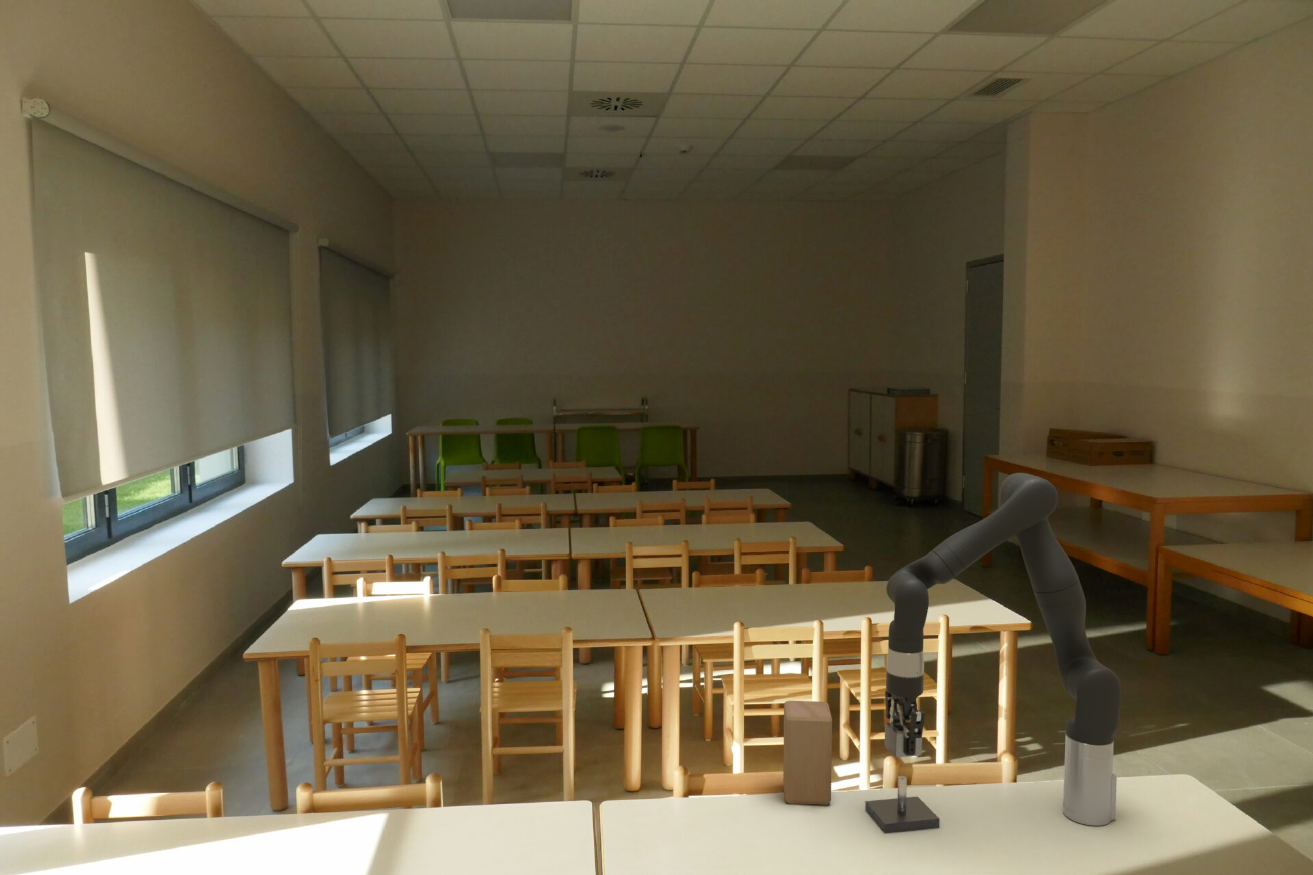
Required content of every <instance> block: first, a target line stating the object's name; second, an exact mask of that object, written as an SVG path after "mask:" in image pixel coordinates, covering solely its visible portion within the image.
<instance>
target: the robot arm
mask: <svg viewBox="0 0 1313 875" xmlns="http://www.w3.org/2000/svg"><path fill="white" fill-rule="evenodd" d="M1058 494H1059V493H1058V491H1057V489H1056V487H1055V486H1054V485H1053V483H1051V482H1050V481H1049V480H1047V479H1045V478H1043V477H1040V476H1036V475H1033V474H1030V473H1027V472H1016V473H1015V472H1014V473H1012V474H1010V475H1007V477H1006V478H1005V479H1003V481H1002V483H1001V485H1000V489H999V500H1000V504H1001V506H1000V507H999V508H998V509H996V510H995V511H994V512H992V513H991V514H990V515H988V516H986V517H985V518H983V519H982V520H980V521H977V522H976V523H974V524H972V525H969V526H967V527H965V528H963V529H961V530H959V531H957V532H955V533H954V534H952V535H950V536H949V537H947V538H946V539H944V540H943V541H941V543H939V544H938V545H937V546H935V547H934V548H933V549H932V550H931V551H929V552H928V553H927V554H926V555H925V556H923V557H920V558H919V559H916V560H914V561H912V562H911V563H909V564H906V565H905V566H903V567H902V568H900V569H899V570H898V571H896V572H894V573H893V574H892V576H890V578H889V579H888V581H887V584H886V588H885V589H886V594H887V596H888V598H889V599H890V600H891V602H893V604H894V614H893V619H892V621H890V623H889V627H888V643H887V644H888V646H887V654H886V672H885V674H886V675H885V677H886V678H885V689H886V690H885V691H884V696H885V697H884V699H885V700H884V701H885V717H886V719H887V720H888V719H889V723H897V722H900V724H901V726H903V729H904V735H905V738H904V754H905V755H907V756H908V757H910V756H909V755H915V751H916V738H922V739H923V732H924V724H925V716H926V715H925V711H923V710H919V709H918V702H917V699H918V698H919V697H920V696H921V695H923V693H924V683H925V682H924V678H925V676H924V675H925V674H924V673H925V657H924V635H925V634H924V629H925V625H926V621H927V616H928V613H929V607H930V606H929V605H930V602H929V601H930V596H929V589H931V588H932V587H934V586H936V585H944V584H945V585H946V584H948V583H949V582H951V581H952V580H953V579H955V578H956V577H958V576H959V575H960V574H961V573H963V571H965V570H966V569H968V568H969V567H970V566H971V565H973V564H974V563H975V562H977V561H979V559H981V558H983V556H985V555H987V553H990V551H992V550H993V549H995V548H996V547H999V546H1000V545H1001V544H1002V543H1005V542H1006V541H1008V540H1010V539H1011V538H1012V537H1015V538H1016V539H1017V543H1018V545H1019V548H1020V551H1021V555H1022V558H1023V562H1024V565H1025V568H1026V569H1025V570H1026V572H1027V574H1028V578H1029V580H1030V581H1029V582H1030V584H1031V587H1032V588H1031V589H1032V591H1033V593H1034V596H1035V600H1036V603H1037V605H1038V608H1039V610H1040V613H1041V616H1042V620H1043V621H1044V624H1045V627H1046V629H1047V632H1048V635H1049V638H1050V640H1051V643H1052V646H1053V647H1052V648H1053V650H1054V654H1055V658H1056V663H1057V669H1058V674H1059V677H1060V678H1059V679H1060V681H1061V684H1062V686H1063V689H1064V690H1065V691H1066V692H1067V694H1068V695H1070V697H1072V698H1073V699H1074V700H1075V714H1074V716H1072V717H1069V718H1068V719H1067V720H1066V723H1065V737H1064V739H1065V740H1064V741H1065V742H1064V743H1065V744H1064V746H1065V748H1064V772H1063V773H1064V774H1063V796H1062V797H1063V798H1062V803H1063V804H1062V812H1063V814H1064V815H1065V817H1066V818H1068V819H1070V820H1071V821H1073V822H1075V823H1079V824H1082V825H1087V826H1098V827H1099V826H1106V825H1108V824H1109V823H1110V822H1111V821H1116V811H1117V810H1116V808H1117V806H1116V805H1117V783H1118V782H1117V781H1118V779H1117V778H1118V777H1117V776H1116V774H1114V773H1113V770H1114V742H1115V734H1116V732H1117V730H1118V728H1119V723H1120V715H1121V714H1120V713H1121V703H1122V687H1121V682H1120V679H1119V676H1117V674H1116V673H1115V672H1114V671H1113V670H1112V669H1110V668H1108V666H1107V667H1106V666H1105V665H1103V664H1101V663H1100V662H1099V660H1097V658H1096V656H1095V654H1094V651H1093V650H1092V647H1091V645H1090V641H1089V639H1088V636H1087V633H1086V632H1087V631H1086V623H1085V622H1086V617H1087V616H1086V614H1087V613H1086V612H1087V603H1086V601H1087V600H1086V597H1085V594H1084V591H1083V590H1084V589H1083V588H1082V585H1081V582H1080V579H1079V575H1078V573H1077V571H1076V568H1075V566H1074V564H1073V563H1072V560H1070V558H1069V556H1068V555H1067V553H1066V552H1065V550H1064V548H1063V546H1062V545H1061V544H1060V542H1059V541H1058V539H1057V538H1056V536H1055V534H1054V532H1053V530H1052V527H1051V525H1050V523H1049V519H1048V517H1049V516H1050V515H1052V513H1054V511H1055V509H1056V508H1057V505H1058V501H1059V497H1058ZM908 720H909V721H908ZM908 726H909V732H908ZM917 729H918V732H917Z"/></svg>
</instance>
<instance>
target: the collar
mask: <svg viewBox="0 0 1313 875" xmlns="http://www.w3.org/2000/svg"><path fill="white" fill-rule="evenodd" d="M884 727H885V728H884V747H885V748H886V749H887V750H888V752H890V753H891V754H892V755H893V756H894V757H895V758H905V757H906V758H907V757H908V758H909V757H917V756H918V757H919V756H922V755H923V754H922V753H923V750H922V748H923V737H922V738H916V751H915V755H909V756H907V755H905V754H904V738H905V735H904V729H903V726H901V724H900V722H897V723H890V722H885V723H884ZM908 732H909V726H908ZM917 732H918V729H917Z"/></svg>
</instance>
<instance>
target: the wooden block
mask: <svg viewBox="0 0 1313 875" xmlns="http://www.w3.org/2000/svg"><path fill="white" fill-rule="evenodd" d="M829 705H830V704H829V703H828V702H826V701H811V700H786V701H785V702H784V704H783V764H782V766H783V768H782V770H783V775H782V776H783V777H782V778H783V780H782V781H783V794H784V800H785V802H786V803H787V802H788V803H787V804H799V805H800V804H801V805H820V806H821V805H822V806H824V805H825V806H827V805H830V803H832V802H831V801H832V766H833V765H832V761H833V760H832V758H833V757H832V756H833V755H832V752H833V750H832V749H833V718H832V714H831V710H830V708H831V707H830V706H829Z"/></svg>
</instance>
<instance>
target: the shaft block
mask: <svg viewBox="0 0 1313 875" xmlns="http://www.w3.org/2000/svg"><path fill="white" fill-rule="evenodd" d="M907 779H908V777H906V776H905V775H899V776H897V798H886V799H876V800H875V799H874V800H865V801H864V803H865V807H864V809H865V812H866V813H867V814H868V815H869V817H870V818H871V819H872V820H873V822H874V823H875V824H876V825H877V826H878V827H879V828H880V829H881V831H882V832H883V833H884V834H892V833H893V834H895V833H901V832H902V833H904V832H912V831H914V832H915V831H922V830H923V831H924V830H932V829H933V830H934V829H940V823H941V822H940V820H941V819H940V817H938V816H937V815H936V813H934V811H933V810H932V809H931V808H930V807H929V806H928V805H927V804H926V803H925V802H924V801H923V800H922V799H921V798H920V797H919V796H907V794H908V793H907V790H908V789H907V788H908V786H907V784H908V783H907V782H908V780H907Z"/></svg>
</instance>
